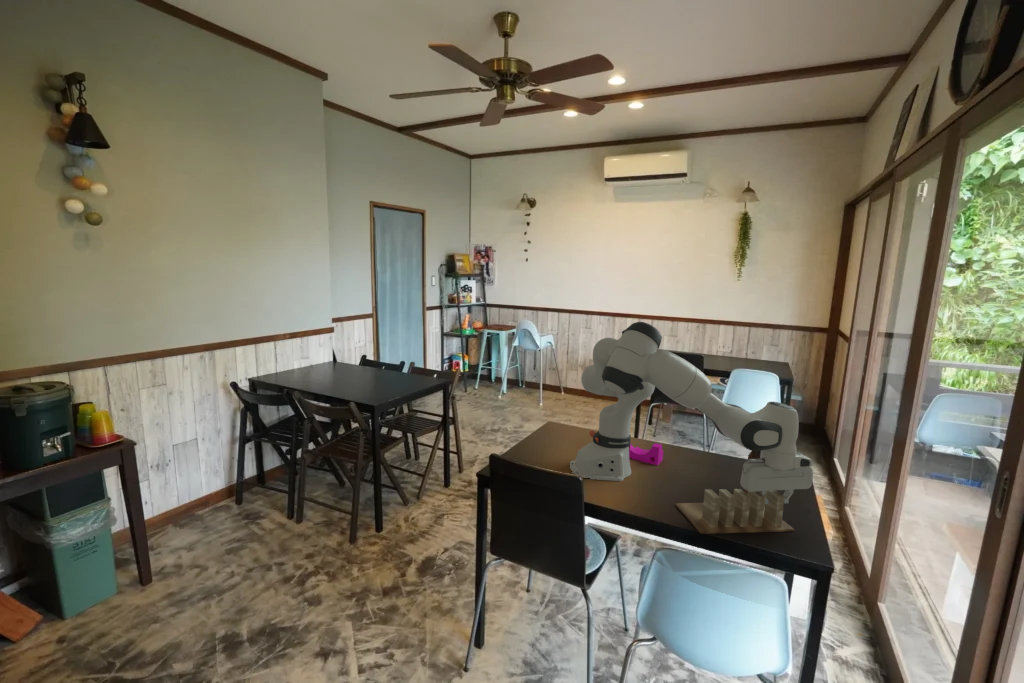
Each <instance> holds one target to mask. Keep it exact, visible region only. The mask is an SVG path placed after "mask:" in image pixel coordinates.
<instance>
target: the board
mask: <svg viewBox="0 0 1024 683" xmlns="http://www.w3.org/2000/svg"><path fill="white" fill-rule="evenodd" d="M703 503H704V502H679V503H674V504H675V507H676V508H677V509H678V510H679V511H680V512H681V513H682V514H683V516H685V517H686V519H687V520H688V521H689V522H690V523H691V524H692V526H693V527H694V528H695V529H696V530H697V532H698V533H700V534H706V535H707V534H709V535H710V534H737V533H739V534H740V533H744V534H746V533H773V532H775V533H776V532H779V533H781V532H783V533H784V532H795V528H793V527H792V526H791V525H790V524H788V523H787V521H785V520H783V519H782V525H781V526H774V525H773V524H771V523H770V522H769V521H768V520H766V519H765V518H764V513H763V522H762V526H755V525H753V524H752V523H751V522H750V521H749V520H748V525H747V527H741V526H739V525H738V524H737V523H736V522H735V521H734V520H733V527H725V526H724V525H723V524H722V523H721V522H720V521H719V520H718V527H710V526H709V525H708V524H707V523H706V522H705V521H704V520H703V519H702V513H703ZM764 509H765V505H764Z"/></svg>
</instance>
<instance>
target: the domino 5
mask: <svg viewBox="0 0 1024 683" xmlns="http://www.w3.org/2000/svg"><path fill="white" fill-rule="evenodd" d="M782 495H783V494H781V493H780V492H778V490H775V491H767V492H766V494H765V497H767V498H768V499H769V504H766V505H764V506H765V509H764V518H765V519H766V520H768V521H769V522H770V523H771V524H773V525H774V526H781V525H782V520H783V513H784V504H785V503H784V496H782Z"/></svg>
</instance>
